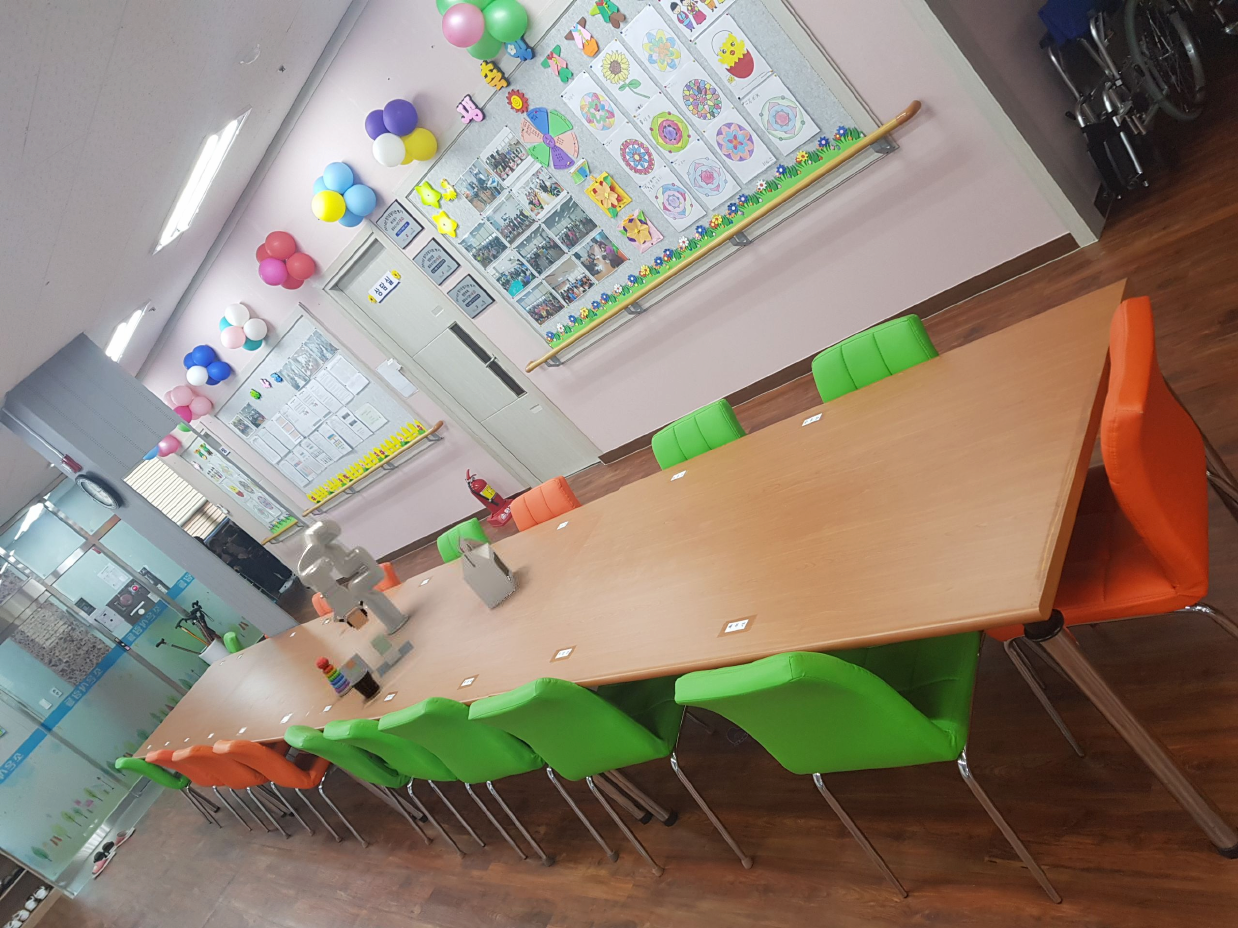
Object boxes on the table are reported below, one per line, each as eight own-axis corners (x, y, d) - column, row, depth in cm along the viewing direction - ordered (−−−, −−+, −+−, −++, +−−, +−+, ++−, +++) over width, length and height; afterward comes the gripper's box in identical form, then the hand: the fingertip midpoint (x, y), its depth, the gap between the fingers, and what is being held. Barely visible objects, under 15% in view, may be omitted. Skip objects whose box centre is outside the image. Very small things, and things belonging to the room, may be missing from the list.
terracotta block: (355, 626, 349) (346, 616, 347) (367, 616, 351) (357, 606, 349) (357, 630, 342) (347, 620, 340) (369, 620, 343) (359, 610, 342)
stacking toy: (349, 692, 356) (319, 662, 351) (336, 699, 359) (307, 669, 354) (357, 680, 363) (328, 650, 358) (345, 687, 366) (316, 657, 361)
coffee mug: (368, 693, 339) (352, 677, 336) (385, 682, 338) (369, 665, 335) (362, 710, 328) (345, 692, 325) (379, 698, 327) (362, 680, 324)
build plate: (377, 671, 356) (375, 669, 355) (410, 642, 361) (408, 640, 361) (382, 679, 343) (380, 677, 343) (416, 649, 349) (414, 647, 348)
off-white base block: (387, 661, 355) (378, 651, 353) (398, 651, 356) (389, 641, 355) (390, 665, 347) (381, 655, 346) (401, 655, 349) (392, 645, 347)
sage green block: (378, 651, 353) (369, 641, 351) (389, 641, 355) (380, 631, 353) (381, 655, 346) (372, 645, 344) (392, 645, 347) (383, 635, 346)
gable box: (488, 591, 353) (447, 542, 345) (513, 572, 353) (472, 523, 345) (490, 610, 331) (446, 559, 324) (516, 590, 332) (472, 539, 324)
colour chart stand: (356, 688, 355) (337, 668, 352) (374, 671, 358) (355, 651, 355) (357, 690, 351) (338, 670, 348) (376, 673, 355) (357, 653, 351)
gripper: (315, 606, 335) (345, 637, 340) (349, 577, 340) (378, 608, 345) (314, 603, 342) (343, 634, 347) (347, 575, 347) (375, 605, 352)
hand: (360, 621), depth 346 cm, fingers closed on terracotta block, 6 cm apart
